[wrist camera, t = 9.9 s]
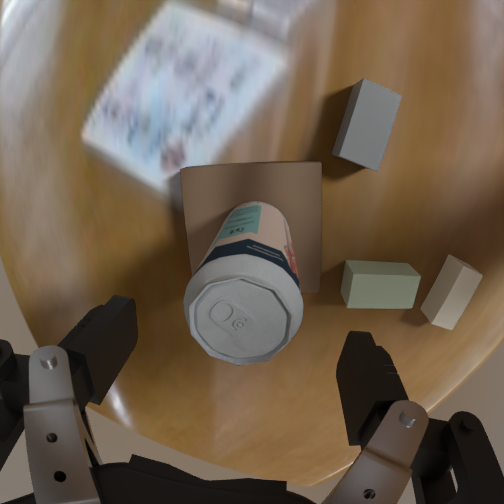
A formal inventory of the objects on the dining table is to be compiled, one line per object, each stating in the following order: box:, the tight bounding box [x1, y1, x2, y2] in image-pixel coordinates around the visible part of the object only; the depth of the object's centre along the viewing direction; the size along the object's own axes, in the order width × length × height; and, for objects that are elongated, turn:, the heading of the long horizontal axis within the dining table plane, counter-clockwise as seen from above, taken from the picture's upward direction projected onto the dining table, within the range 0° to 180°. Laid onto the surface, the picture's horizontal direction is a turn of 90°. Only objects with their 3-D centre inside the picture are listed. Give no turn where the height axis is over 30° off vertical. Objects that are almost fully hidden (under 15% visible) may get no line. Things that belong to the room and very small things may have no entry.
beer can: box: [183, 201, 303, 366], centre depth 17 cm, size 5×5×12 cm
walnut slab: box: [180, 161, 322, 293], centre depth 23 cm, size 10×10×2 cm
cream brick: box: [420, 254, 483, 330], centre depth 24 cm, size 6×3×3 cm, turn 161°
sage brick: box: [340, 260, 421, 309], centre depth 24 cm, size 6×3×3 cm, turn 88°
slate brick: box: [331, 78, 401, 172], centre depth 20 cm, size 6×3×3 cm, turn 163°
